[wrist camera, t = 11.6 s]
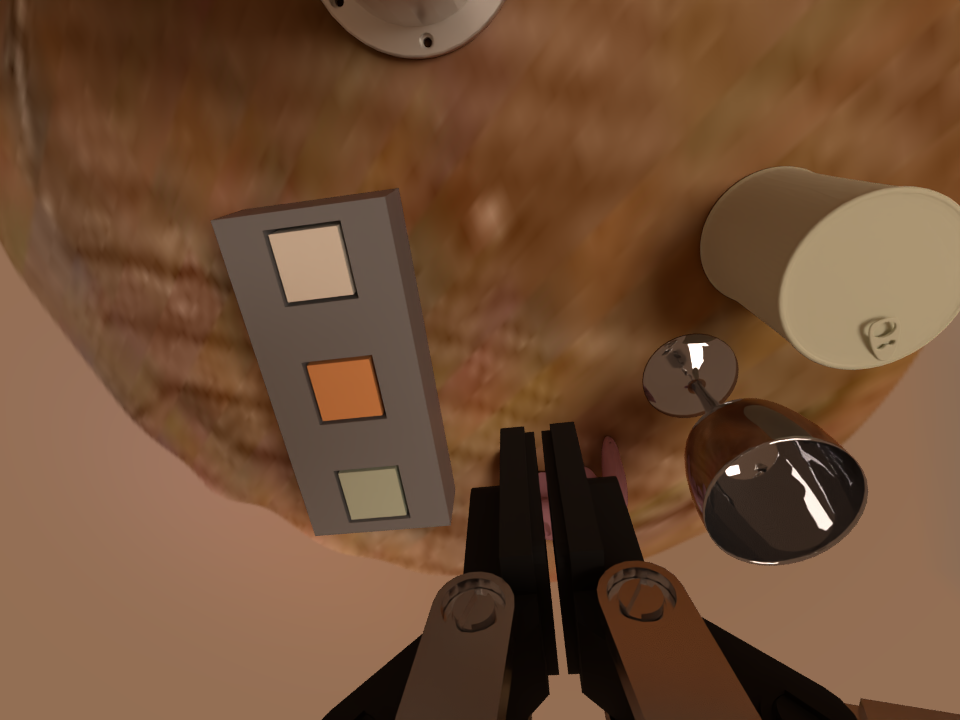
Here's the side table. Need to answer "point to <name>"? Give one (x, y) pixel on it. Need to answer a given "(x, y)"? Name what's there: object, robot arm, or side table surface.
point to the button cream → (313, 261)
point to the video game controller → (609, 468)
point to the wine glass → (754, 460)
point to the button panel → (342, 334)
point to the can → (837, 262)
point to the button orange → (346, 387)
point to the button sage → (374, 492)
